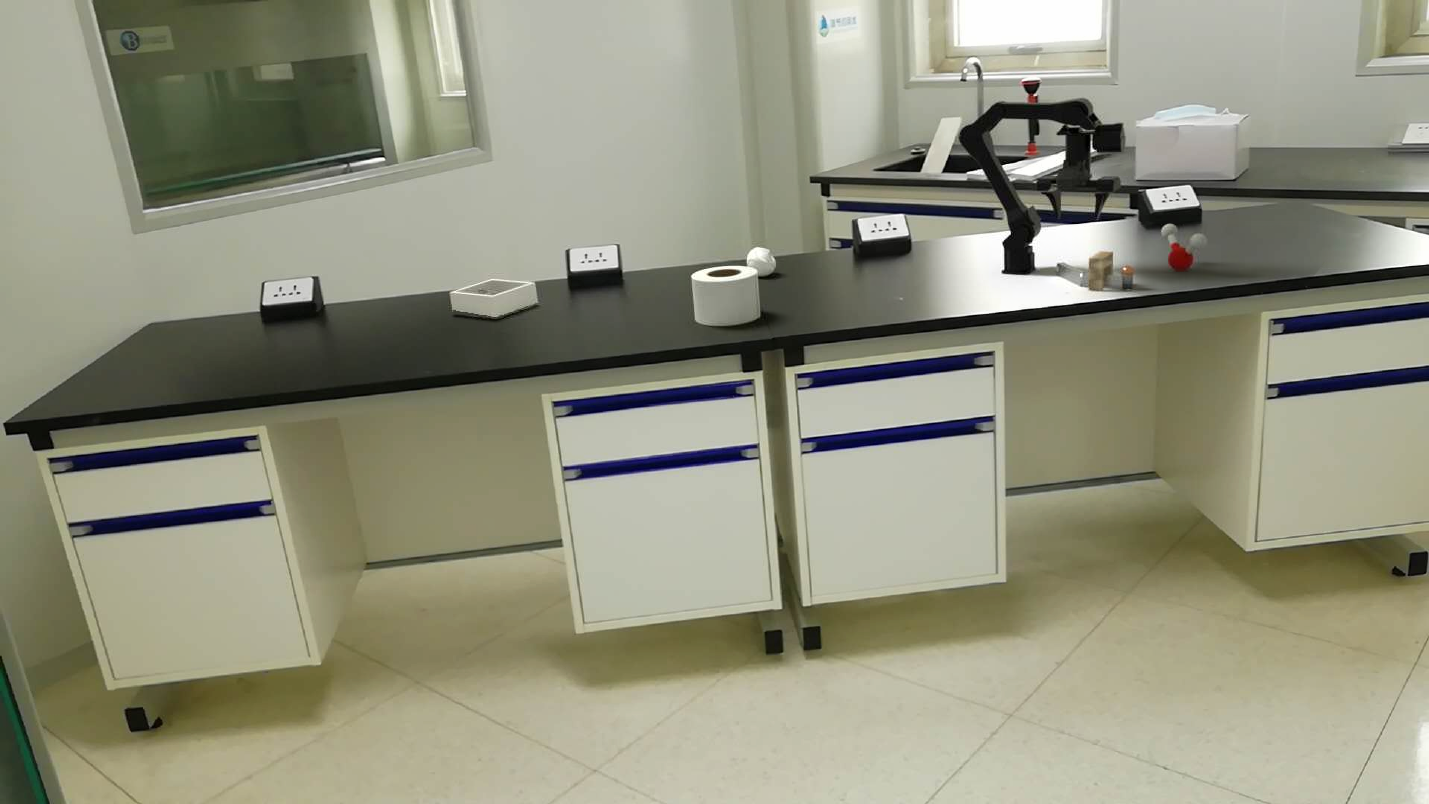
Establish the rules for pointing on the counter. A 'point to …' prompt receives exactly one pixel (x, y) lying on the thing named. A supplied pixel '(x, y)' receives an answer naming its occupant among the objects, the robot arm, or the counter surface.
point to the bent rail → (1109, 279)
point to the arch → (1099, 269)
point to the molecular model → (1182, 248)
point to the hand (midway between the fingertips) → (1077, 219)
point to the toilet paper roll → (726, 295)
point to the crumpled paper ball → (761, 261)
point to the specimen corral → (494, 297)
